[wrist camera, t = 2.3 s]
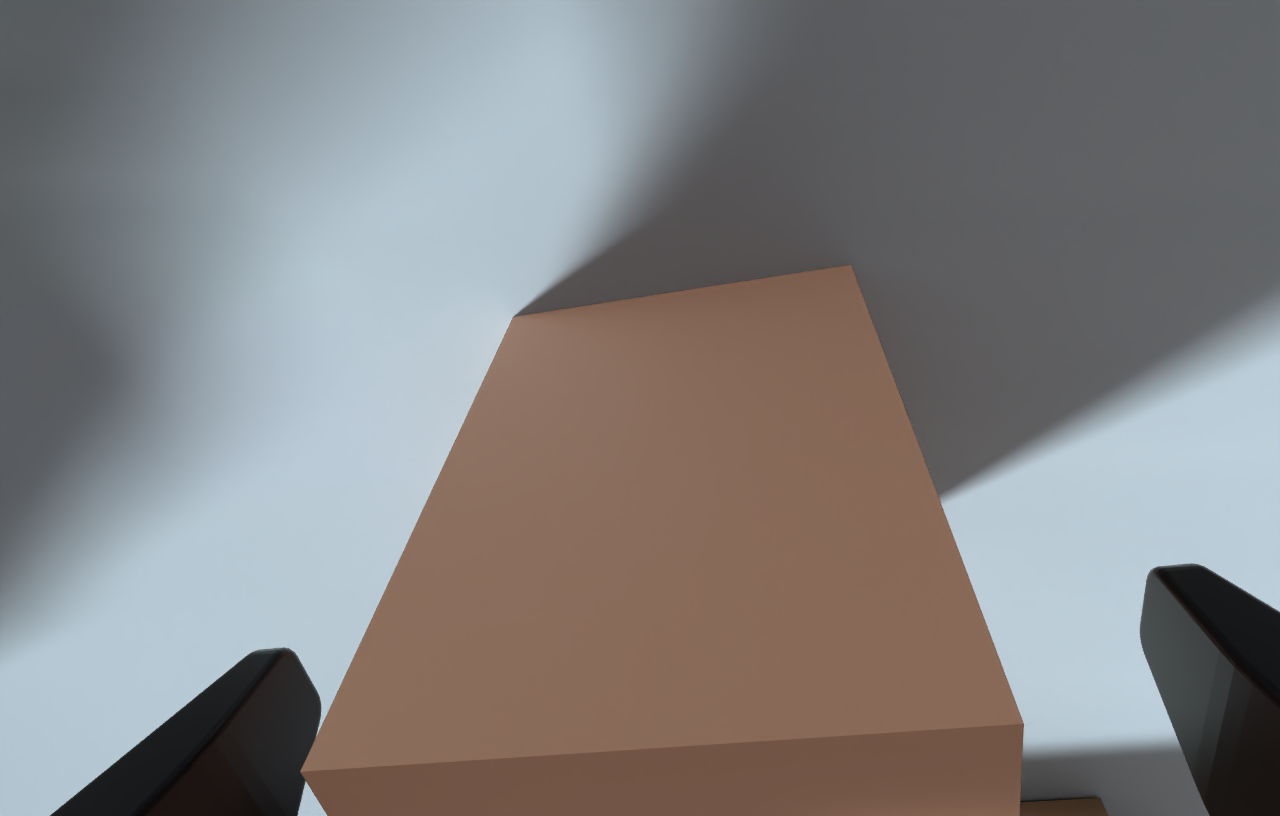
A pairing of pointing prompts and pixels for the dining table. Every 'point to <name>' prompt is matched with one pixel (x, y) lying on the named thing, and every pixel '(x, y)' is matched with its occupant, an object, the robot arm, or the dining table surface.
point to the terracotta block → (680, 585)
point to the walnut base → (1063, 808)
